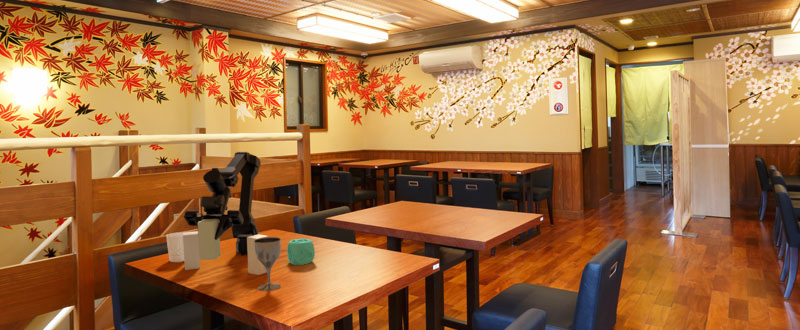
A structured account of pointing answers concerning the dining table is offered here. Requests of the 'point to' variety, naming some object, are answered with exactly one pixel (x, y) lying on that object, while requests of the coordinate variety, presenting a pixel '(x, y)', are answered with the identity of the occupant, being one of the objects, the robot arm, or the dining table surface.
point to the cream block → (254, 256)
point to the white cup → (175, 247)
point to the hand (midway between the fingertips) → (207, 239)
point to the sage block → (208, 239)
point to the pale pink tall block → (191, 250)
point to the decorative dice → (300, 251)
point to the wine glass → (268, 257)
